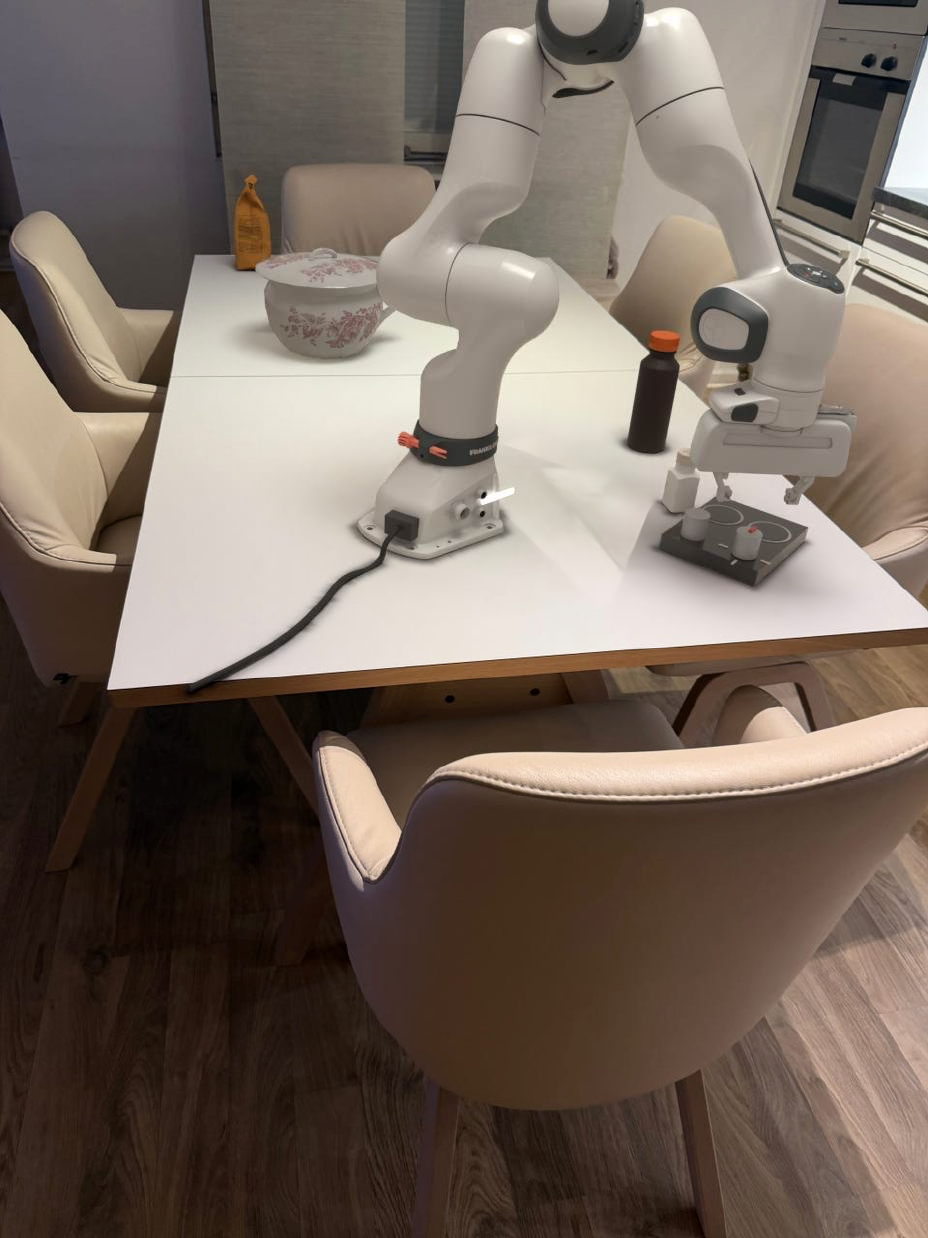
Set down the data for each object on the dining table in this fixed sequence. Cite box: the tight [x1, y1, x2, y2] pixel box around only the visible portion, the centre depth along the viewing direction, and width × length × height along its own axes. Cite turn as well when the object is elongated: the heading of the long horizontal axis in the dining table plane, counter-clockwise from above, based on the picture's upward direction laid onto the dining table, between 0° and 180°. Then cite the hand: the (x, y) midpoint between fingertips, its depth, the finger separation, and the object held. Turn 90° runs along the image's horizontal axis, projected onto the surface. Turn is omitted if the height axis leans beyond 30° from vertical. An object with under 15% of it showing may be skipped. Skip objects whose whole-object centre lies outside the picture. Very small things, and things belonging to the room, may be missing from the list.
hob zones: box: [681, 505, 791, 543], centre depth 139 cm, size 14×14×4 cm
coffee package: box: [233, 174, 272, 271], centre depth 251 cm, size 10×12×22 cm
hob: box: [658, 495, 809, 587], centre depth 141 cm, size 19×15×3 cm
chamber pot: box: [255, 247, 397, 360], centre depth 198 cm, size 28×28×21 cm
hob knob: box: [731, 526, 763, 560], centre depth 133 cm, size 4×4×4 cm
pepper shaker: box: [661, 447, 701, 514], centre depth 148 cm, size 4×4×10 cm
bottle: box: [626, 330, 681, 454], centre depth 165 cm, size 7×7×20 cm
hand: (756, 501), depth 128 cm, fingers open, 8 cm apart
